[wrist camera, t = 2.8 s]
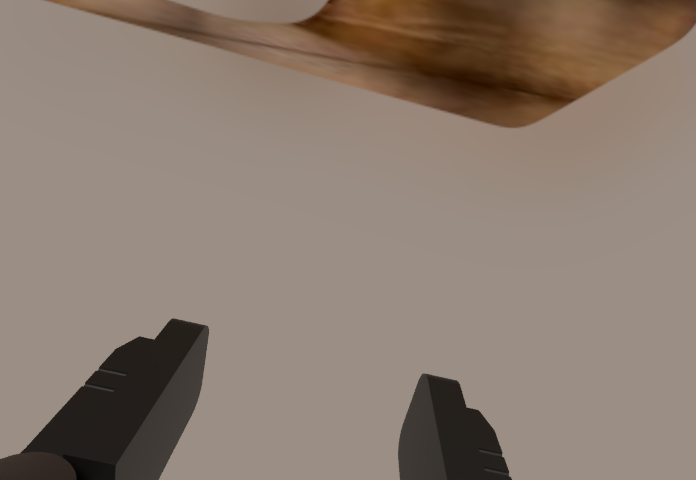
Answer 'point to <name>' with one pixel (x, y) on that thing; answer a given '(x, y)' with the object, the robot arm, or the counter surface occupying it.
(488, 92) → the counter surface
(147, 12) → the counter surface
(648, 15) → the counter surface
